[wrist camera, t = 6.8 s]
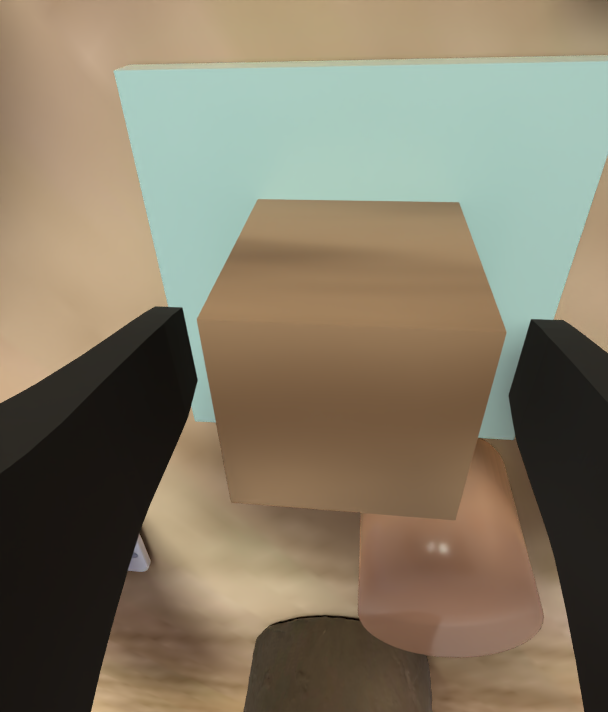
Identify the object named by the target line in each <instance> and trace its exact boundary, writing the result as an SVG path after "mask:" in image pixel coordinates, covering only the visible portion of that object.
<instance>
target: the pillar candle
mask: <svg viewBox="0 0 608 712" xmlns="http://www.w3.org/2000/svg"><path fill="white" fill-rule="evenodd" d="M244 712H432V692H431V680H430V671H429V664H428V660H427V657H426V655H423V654H418V653H413V652H409V651H406V650H402V649H399V648H396V647H394V646H391V645H389V644H387V643H385V642H383V641H381V640H379V639H378V638H376V637H375V636H373V635H372V634H371V633H370V632H368V631H367V630H366V628H365V627H364V626H363V625H362V623H361V621H357V620H351V619H350V620H348V619H345V618H337V617H336V618H328V617H327V616H324V617H315V618H302V619H295V620H293V621H287V622H286V623H285V622H284V623H278V624H276V625H272V626H269V627H268V628H266V629H265V630H264V631H263V633H262V634H261V635H260V636H259V637H258V638H257V639H256V643H255V649H254V652H253V660H252V666H251V672H250V677H249V684H248V691H247V696H246V701H245V707H244Z"/></svg>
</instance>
